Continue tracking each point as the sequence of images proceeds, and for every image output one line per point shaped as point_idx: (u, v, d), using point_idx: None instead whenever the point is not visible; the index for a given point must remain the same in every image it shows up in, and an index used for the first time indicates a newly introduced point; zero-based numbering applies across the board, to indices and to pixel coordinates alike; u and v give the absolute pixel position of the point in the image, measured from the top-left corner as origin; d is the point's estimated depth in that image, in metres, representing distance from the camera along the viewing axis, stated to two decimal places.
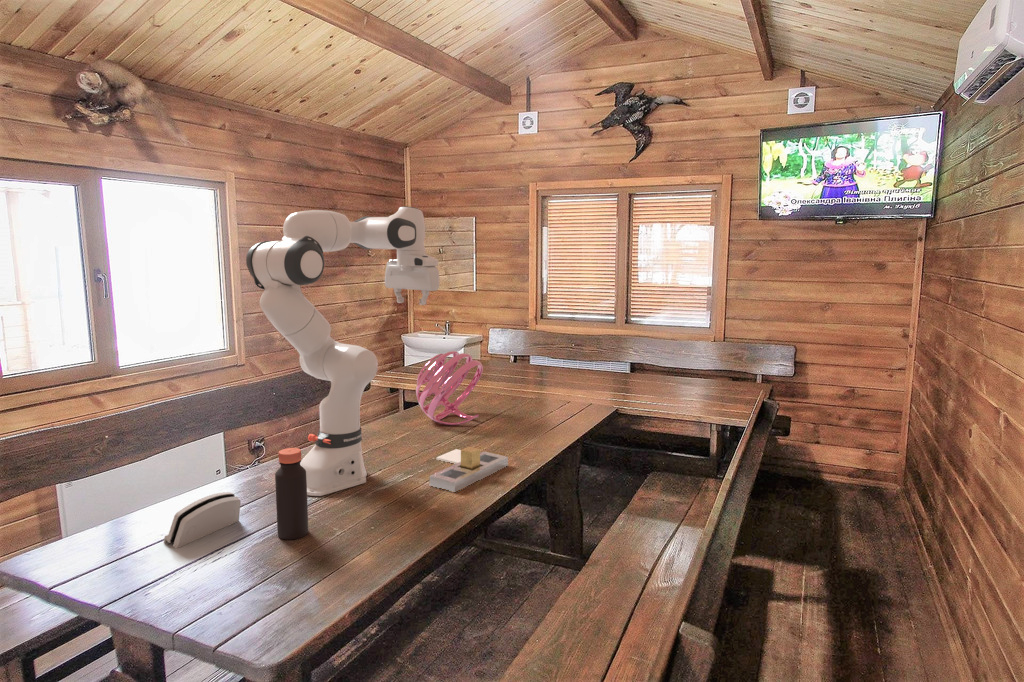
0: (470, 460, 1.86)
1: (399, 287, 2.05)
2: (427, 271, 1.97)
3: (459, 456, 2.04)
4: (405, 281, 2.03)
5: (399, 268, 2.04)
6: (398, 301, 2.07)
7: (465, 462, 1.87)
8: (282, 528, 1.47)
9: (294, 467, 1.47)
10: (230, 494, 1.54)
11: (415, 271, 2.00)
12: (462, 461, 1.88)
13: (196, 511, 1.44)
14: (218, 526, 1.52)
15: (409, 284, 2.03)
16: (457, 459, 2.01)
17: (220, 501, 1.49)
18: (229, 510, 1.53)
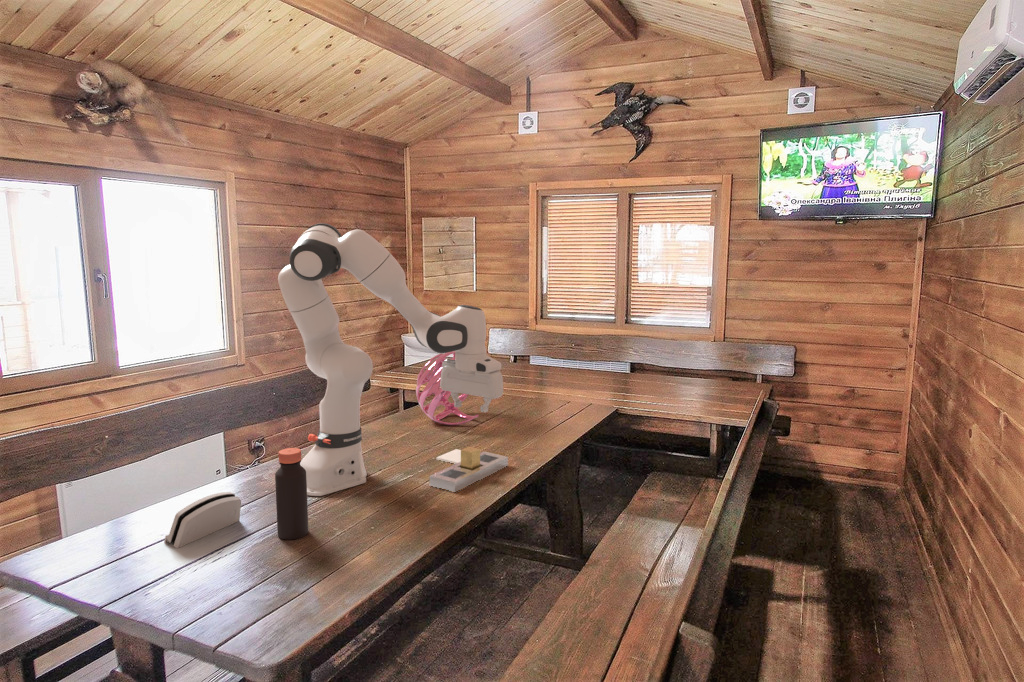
0: (470, 460, 1.86)
1: (457, 391, 1.86)
2: (491, 378, 1.78)
3: (459, 456, 2.04)
4: (465, 385, 1.84)
5: (457, 371, 1.85)
6: (455, 406, 1.88)
7: (465, 462, 1.87)
8: (282, 528, 1.47)
9: (294, 467, 1.47)
10: (231, 494, 1.54)
11: (476, 376, 1.81)
12: (462, 461, 1.88)
13: (197, 511, 1.44)
14: (219, 526, 1.52)
15: (469, 389, 1.84)
16: (457, 459, 2.01)
17: (221, 501, 1.49)
18: (230, 510, 1.53)
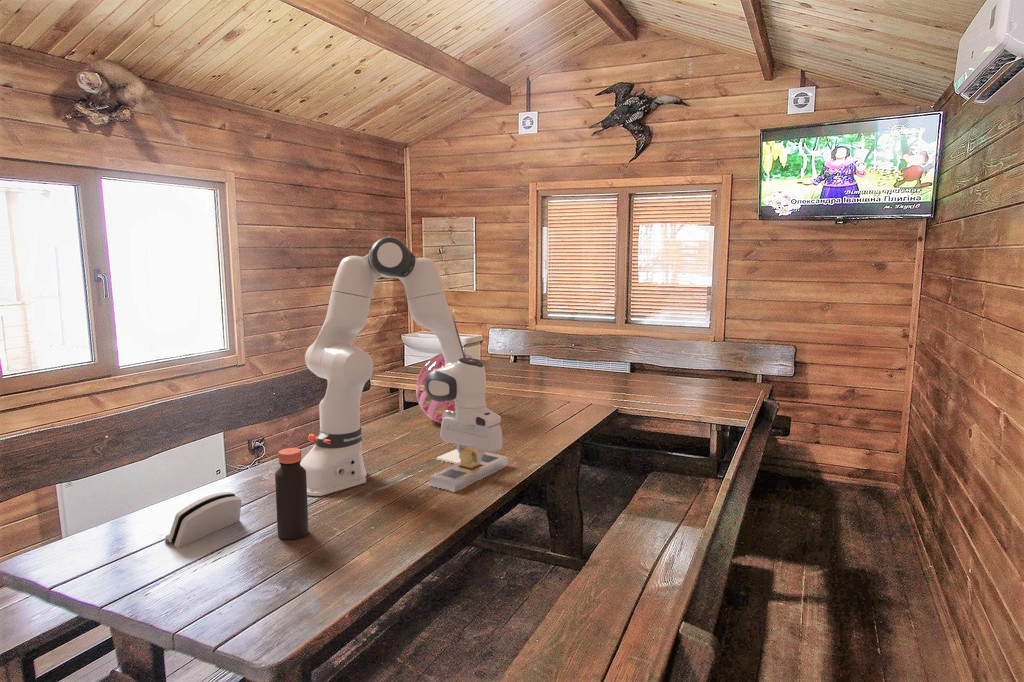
0: (470, 460, 1.86)
1: (457, 443, 1.88)
2: (490, 432, 1.80)
3: None
4: (464, 437, 1.87)
5: (457, 423, 1.87)
6: (460, 458, 1.90)
7: (465, 462, 1.87)
8: (282, 528, 1.47)
9: (294, 467, 1.47)
10: (231, 494, 1.54)
11: (476, 429, 1.84)
12: (462, 461, 1.88)
13: (197, 511, 1.45)
14: (219, 526, 1.52)
15: (468, 441, 1.86)
16: (457, 459, 2.01)
17: (221, 501, 1.49)
18: (230, 510, 1.53)
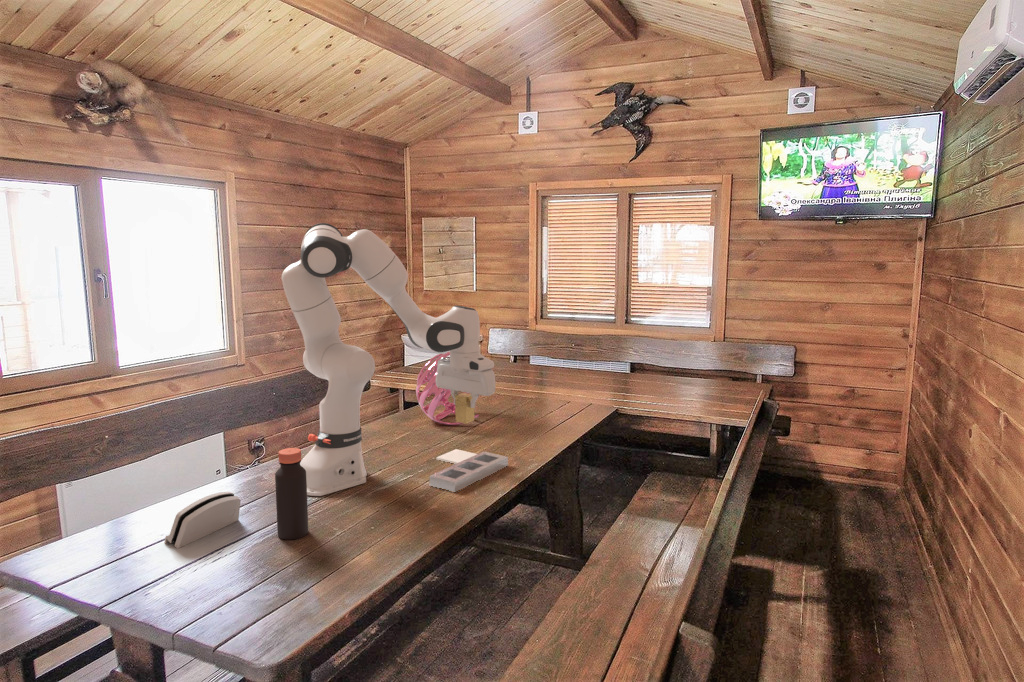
0: (464, 405, 1.91)
1: (452, 388, 1.93)
2: (483, 376, 1.85)
3: (459, 456, 2.04)
4: (459, 383, 1.91)
5: (452, 369, 1.92)
6: None
7: (459, 407, 1.92)
8: (281, 528, 1.47)
9: (294, 467, 1.47)
10: (230, 493, 1.55)
11: (470, 374, 1.89)
12: (457, 406, 1.93)
13: (198, 511, 1.45)
14: (218, 526, 1.52)
15: (462, 386, 1.91)
16: (457, 459, 2.01)
17: (221, 500, 1.50)
18: (229, 509, 1.53)
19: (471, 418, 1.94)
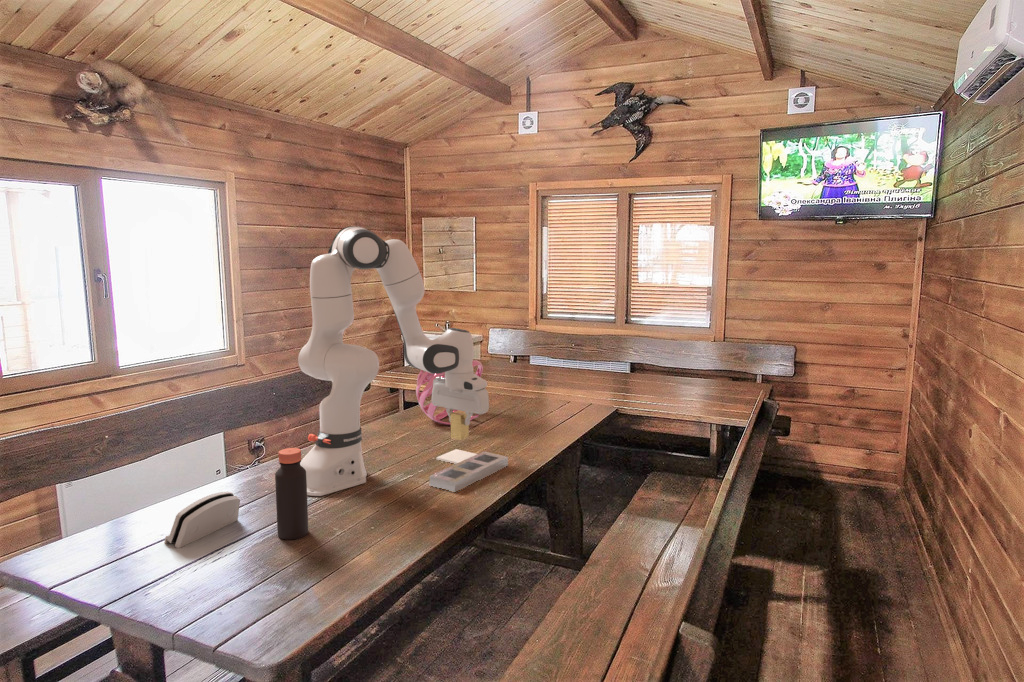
0: (459, 423, 2.00)
1: (447, 407, 2.02)
2: (477, 395, 1.94)
3: (459, 456, 2.04)
4: (453, 401, 2.00)
5: (447, 388, 2.01)
6: (450, 421, 2.03)
7: (454, 424, 2.01)
8: (282, 528, 1.47)
9: (294, 467, 1.47)
10: (229, 493, 1.55)
11: (464, 393, 1.97)
12: (452, 424, 2.02)
13: (198, 511, 1.45)
14: (218, 525, 1.52)
15: (457, 405, 2.00)
16: (457, 459, 2.01)
17: (221, 500, 1.50)
18: (229, 509, 1.53)
19: (466, 435, 2.03)
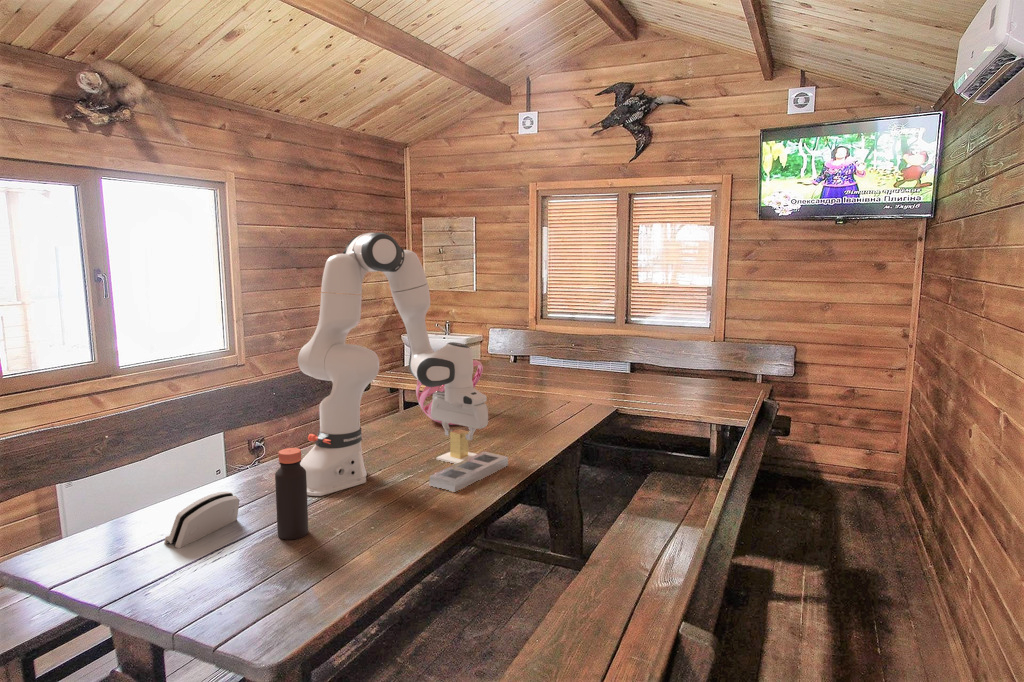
0: (459, 441, 2.01)
1: (446, 421, 2.03)
2: (476, 410, 1.95)
3: None
4: (453, 416, 2.01)
5: (446, 402, 2.02)
6: (446, 434, 2.05)
7: (454, 443, 2.02)
8: (282, 528, 1.47)
9: (294, 467, 1.47)
10: (229, 493, 1.55)
11: (463, 408, 1.98)
12: (451, 442, 2.03)
13: (198, 511, 1.45)
14: (218, 525, 1.52)
15: (457, 419, 2.00)
16: (457, 459, 2.01)
17: (221, 500, 1.50)
18: (229, 509, 1.53)
19: (465, 454, 2.04)
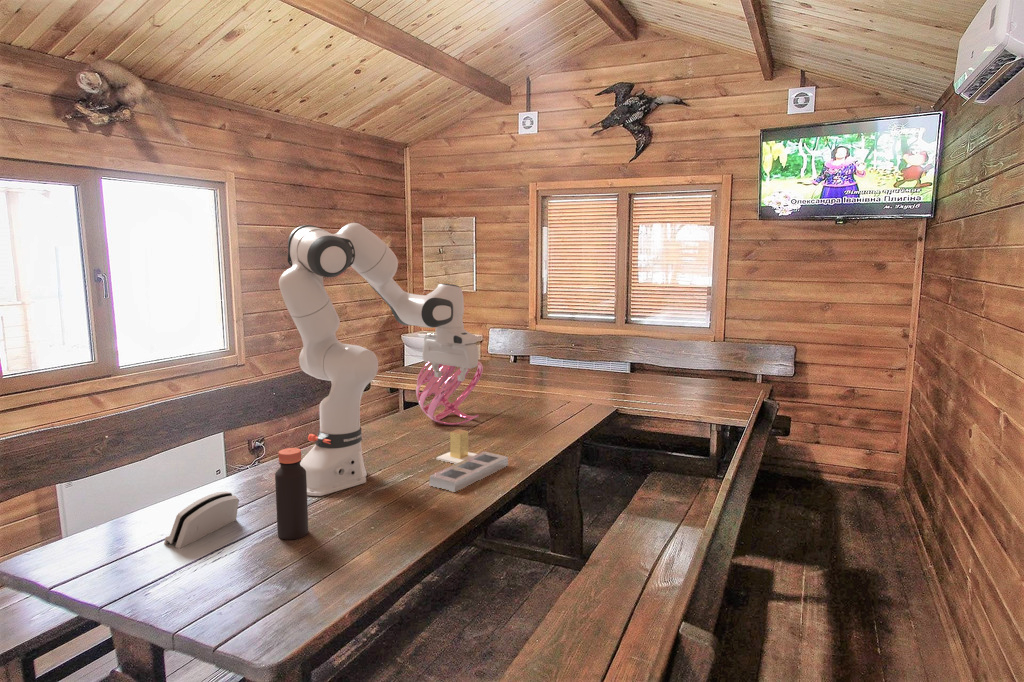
0: (459, 441, 2.01)
1: (437, 362, 2.04)
2: (466, 349, 1.96)
3: None
4: (443, 357, 2.02)
5: (437, 343, 2.03)
6: (435, 376, 2.06)
7: (454, 443, 2.02)
8: (282, 528, 1.47)
9: (294, 467, 1.47)
10: (228, 493, 1.55)
11: (454, 348, 2.00)
12: (451, 442, 2.03)
13: (198, 511, 1.45)
14: (217, 525, 1.52)
15: (447, 360, 2.02)
16: (457, 459, 2.01)
17: (220, 500, 1.50)
18: (228, 509, 1.53)
19: (465, 454, 2.04)
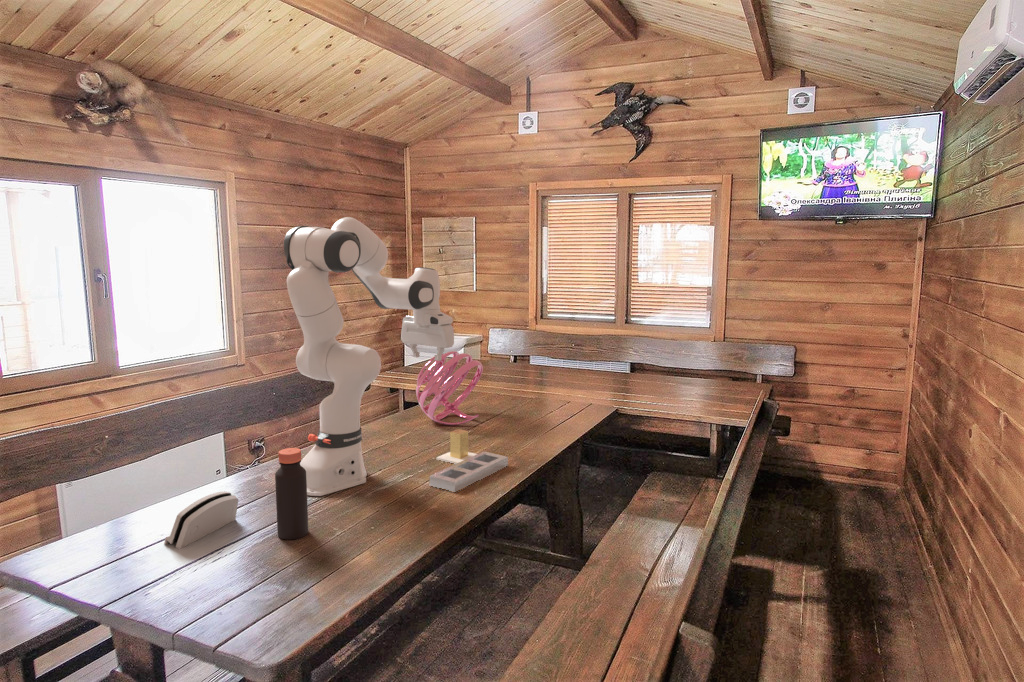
0: (459, 441, 2.01)
1: (415, 343, 2.14)
2: (442, 330, 2.06)
3: None
4: (421, 337, 2.12)
5: (415, 325, 2.13)
6: (414, 356, 2.16)
7: (454, 443, 2.02)
8: (282, 528, 1.47)
9: (294, 467, 1.47)
10: (227, 493, 1.55)
11: (431, 329, 2.09)
12: (451, 442, 2.03)
13: (199, 511, 1.45)
14: (217, 525, 1.52)
15: (424, 340, 2.12)
16: (457, 459, 2.01)
17: (220, 500, 1.50)
18: (228, 509, 1.53)
19: (465, 454, 2.04)
